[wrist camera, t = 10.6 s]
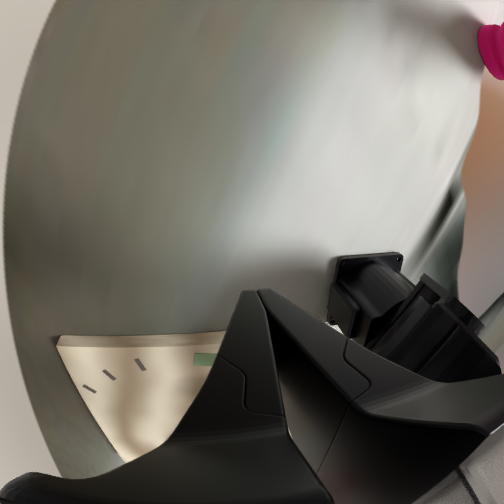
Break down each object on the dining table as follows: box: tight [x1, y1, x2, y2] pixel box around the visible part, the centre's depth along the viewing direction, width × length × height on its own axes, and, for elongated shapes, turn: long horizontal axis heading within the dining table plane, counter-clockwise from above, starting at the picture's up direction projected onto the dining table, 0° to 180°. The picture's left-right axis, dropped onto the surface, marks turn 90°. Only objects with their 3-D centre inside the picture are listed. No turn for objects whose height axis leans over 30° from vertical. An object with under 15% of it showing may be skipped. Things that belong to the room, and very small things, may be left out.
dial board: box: [56, 331, 291, 462], centre depth 27 cm, size 23×22×2 cm
